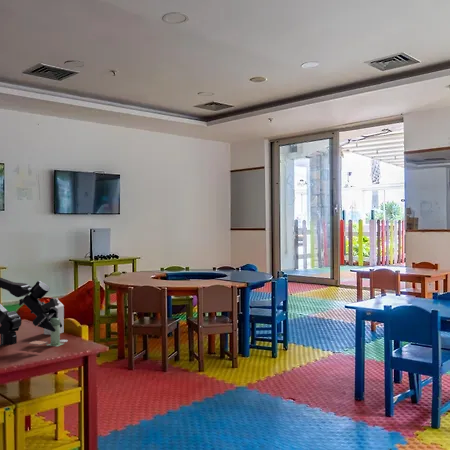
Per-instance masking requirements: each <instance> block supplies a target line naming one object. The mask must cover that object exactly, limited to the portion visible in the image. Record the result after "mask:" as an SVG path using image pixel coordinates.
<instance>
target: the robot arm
mask: <svg viewBox="0 0 450 450" xmlns="http://www.w3.org/2000/svg"><path fill="white" fill-rule="evenodd" d="M0 288H1V289H2V290H6V291H8V292H9V293H10V294H11V295H12V296H14V298H15V297H16V298H20V299H19V300H18V302H19V303H18V305H19V306H22V305H25V306H26V308H28V309H29V310H30V314H34V315H35V317H34V319H33V320H32V325H34V326H35V327H37V328H41V329H43V330H44V329H47V330H50V331H53V332H55V331H56V330H55V328H54V327H53V325H52V324H51V323H50V319H52V318H58V316H57V315H58V309H57V308H56V307H55V306H57V305H58V303H57V302H58V300H59V299H58V300H56V299H55V298H56V297H52V298H50V299H49V301H48V302H44V301H41V299H43V298H44V297H45V295H47V294H48V293H49V292H50V290H51V289H50V286H49V285H48V284H46V283H45V282H43V281H42V280H37V282H36V283H34V285H33V286H30V284H29V283H24V282H14V281H11V280H8V279H5V278H2V277H0ZM21 297H22V298H21ZM52 307H53V308H52ZM21 326H22V318H21V315H19V314H18V313H17V312H16V310H12V311H9V310H8V309H6V307H4V306H3V305H2V304H1V303H0V347H2V346H7V345H8V346H9V345H16V344H17V343H18V342H17V340H18V337H17V336H18V335H17V332H18V331H19V329H20V327H21ZM61 327H62V324H61V322H60V328H61Z"/></svg>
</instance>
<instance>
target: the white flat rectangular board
mask: <svg viewBox="0 0 450 450" xmlns="http://www.w3.org/2000/svg"><path fill="white" fill-rule="evenodd" d="M67 342H68V339H60V344H59V345H51V342H50V343H49V341H43V340H42V341H41V340H33V341H30V342H27V344H29V345H38V346H39V345H44V344H45V345H46V346H48V347H56V348H57V347H58V348H59V347H60V346H63V345H65V343H67Z"/></svg>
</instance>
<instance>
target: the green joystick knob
mask: <svg viewBox="0 0 450 450" xmlns="http://www.w3.org/2000/svg"><path fill="white" fill-rule="evenodd" d="M50 323H51V324H52V325H53V327H54V328H55V330H56V331H55V332H53V331H51V335H50V343H51V345H59V344H60V340H61V333H60V318H52V319H50Z"/></svg>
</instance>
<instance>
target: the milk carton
mask: <svg viewBox="0 0 450 450" xmlns="http://www.w3.org/2000/svg"><path fill="white" fill-rule="evenodd" d="M54 298H55V299H56V300H58V302H57V303H58V305H57V306H55V307H56V308H57V309H58V315H57V316H58V318H60V322H61V324H62V327H61V328H60V334H63V333H64V330H65V329H64V327H65V326H64V325H65V322H64V321H65V319H64V318H65V308H64V307H65V305H64V304H63V303H62V302H61V301H60V300H59V297H54ZM52 308H53V307H52ZM43 335H48V336H49V335H50V336H51V331H50V330H47V329H44V328H43Z"/></svg>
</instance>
